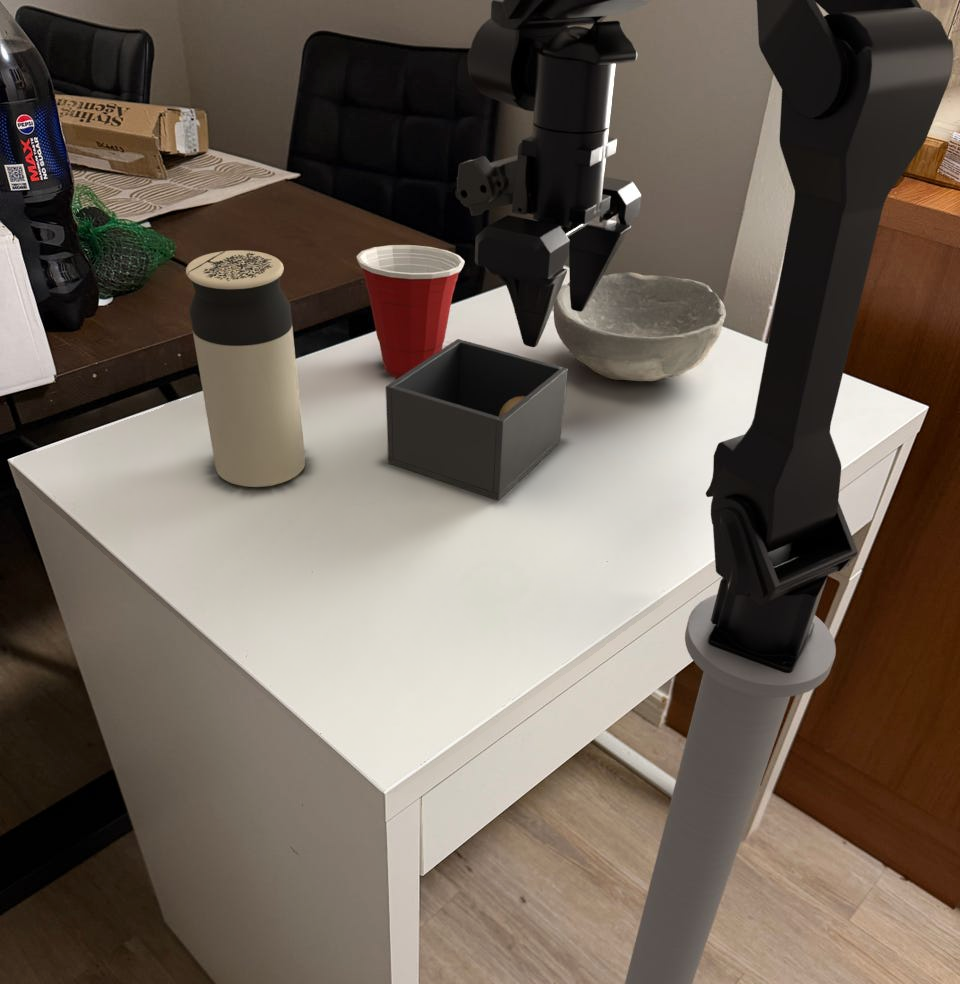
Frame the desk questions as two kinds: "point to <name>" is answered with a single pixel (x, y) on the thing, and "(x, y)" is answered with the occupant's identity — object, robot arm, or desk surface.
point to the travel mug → (247, 366)
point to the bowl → (641, 326)
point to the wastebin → (475, 417)
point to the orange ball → (510, 404)
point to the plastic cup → (409, 300)
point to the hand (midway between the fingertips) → (554, 327)
